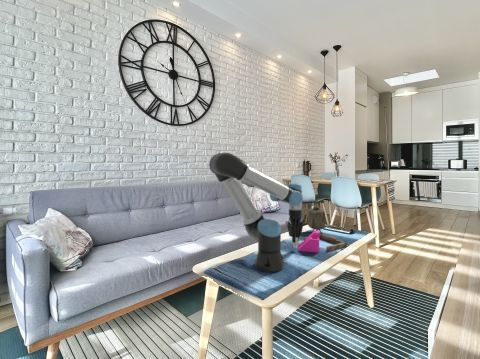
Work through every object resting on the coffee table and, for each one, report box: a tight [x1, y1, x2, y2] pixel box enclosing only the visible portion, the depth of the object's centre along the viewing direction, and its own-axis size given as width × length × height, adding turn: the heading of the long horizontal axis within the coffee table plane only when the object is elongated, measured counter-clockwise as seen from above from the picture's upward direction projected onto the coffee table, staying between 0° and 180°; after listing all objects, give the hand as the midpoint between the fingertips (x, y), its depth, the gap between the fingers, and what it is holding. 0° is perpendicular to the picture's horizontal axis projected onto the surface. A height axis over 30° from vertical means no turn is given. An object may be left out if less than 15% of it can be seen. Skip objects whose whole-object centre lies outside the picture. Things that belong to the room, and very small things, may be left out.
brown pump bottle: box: [307, 199, 326, 235], centre depth 186 cm, size 14×9×25 cm, turn 179°
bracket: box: [297, 230, 320, 253], centre depth 154 cm, size 12×10×10 cm
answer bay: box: [303, 233, 348, 252], centre depth 162 cm, size 16×22×3 cm
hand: (295, 247), depth 151 cm, fingers closed
